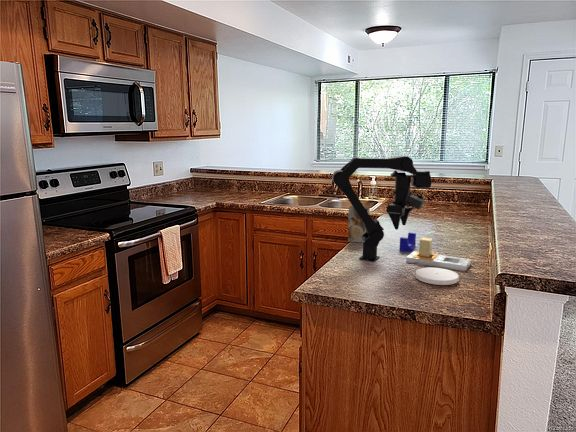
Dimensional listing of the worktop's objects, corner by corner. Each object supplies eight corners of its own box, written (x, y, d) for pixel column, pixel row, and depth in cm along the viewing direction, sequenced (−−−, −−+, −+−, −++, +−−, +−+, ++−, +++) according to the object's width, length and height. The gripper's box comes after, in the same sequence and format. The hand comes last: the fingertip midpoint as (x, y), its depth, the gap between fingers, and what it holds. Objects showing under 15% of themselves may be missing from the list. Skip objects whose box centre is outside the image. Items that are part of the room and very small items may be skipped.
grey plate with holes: (465, 271, 158) (466, 265, 158) (406, 261, 169) (406, 256, 169) (470, 264, 166) (470, 258, 166) (413, 255, 178) (413, 250, 177)
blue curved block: (409, 252, 183) (410, 239, 182) (399, 251, 186) (400, 237, 184) (418, 246, 193) (419, 233, 192) (408, 245, 195) (409, 232, 194)
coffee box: (369, 240, 204) (370, 206, 201) (367, 243, 198) (368, 208, 195) (350, 238, 207) (351, 205, 204) (347, 241, 201) (348, 207, 198)
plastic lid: (466, 286, 144) (467, 278, 143) (428, 289, 141) (428, 282, 140) (443, 272, 157) (443, 266, 157) (408, 275, 154) (408, 268, 154)
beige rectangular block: (428, 263, 168) (430, 240, 166) (418, 261, 170) (419, 239, 168) (431, 260, 171) (432, 238, 169) (421, 259, 173) (422, 237, 171)
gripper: (416, 192, 156) (413, 234, 159) (429, 187, 172) (427, 225, 175) (386, 190, 162) (384, 230, 165) (402, 185, 178) (400, 222, 181)
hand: (400, 227), depth 171 cm, fingers open, 9 cm apart
